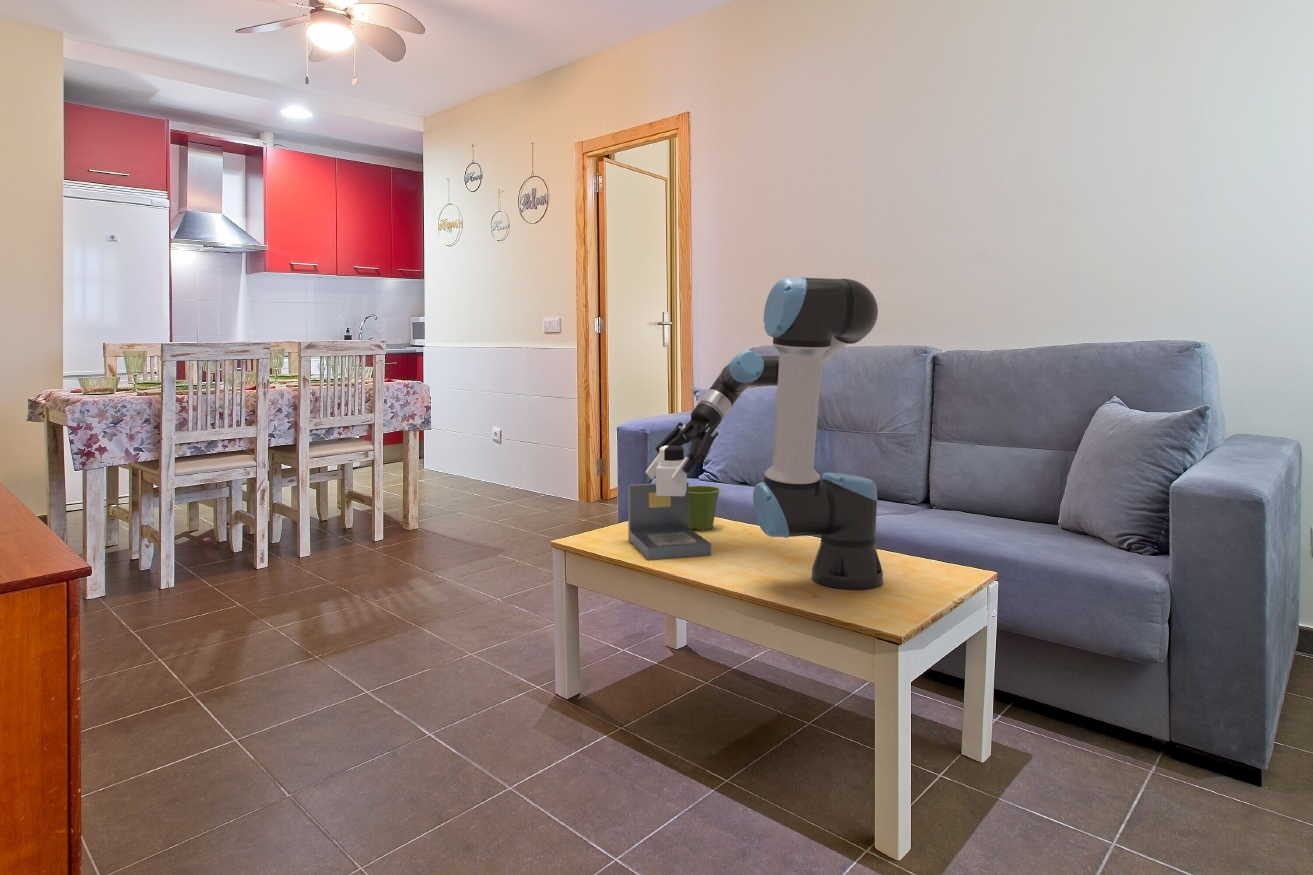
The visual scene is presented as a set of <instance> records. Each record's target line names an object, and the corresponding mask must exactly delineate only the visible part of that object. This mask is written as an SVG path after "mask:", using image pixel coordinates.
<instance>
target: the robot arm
mask: <svg viewBox="0 0 1313 875" xmlns="http://www.w3.org/2000/svg"><path fill="white" fill-rule="evenodd" d="M772 286H773V287H772V288H771V289H770V290H769V292H768V295H767V298H766V302H765V304H764V310H763V323H764V330H765V333H766V334H767V336H770V337H771V338H772V345H773V347H774V348H775V349H776V350H777V351H778V353H779V355H760V354H759V353H758V352H756V351H753V350H750V349H749V350H748V349H746V350H742V351H741V352H739V353H737V355H735V356H734V357H733V358H732V359H731V360H730V361H729V362H728V363H727V364H726V365H725V366H724V368H722V370H721V372H720V373H719V375H718V376H717V378H716V379H715V380H714V382H713V383H712V385H711V386H710V388H709V389H708V390H707V391H706V392H705V393H704V395H703V396H702V397H701V398H700V400H699V403H698V404H696V406H695V407H694V409H692V411H691V413H690V420H689V421H688V422H687V423H686V424H683V423H682V422H681V421H680V422H678V424H677V425H676V427H675V428H674V429H673V430H672V431H671V432H670V433H669V434H668V435H667V436H665V438H664V439H663V440H662V441H661V442H660V443H659V444H658V445H657V446H656V447H655V451H656V452H657V454H656V456H655V457H654V458H653V460H652V462H651V463H650V465H649V466H648V467H647V469H645V470H646V471H645V472H644V473H645V474H646V475H647V476H648V477H649V478H650V479H651V480H654V478H656V468H657V466H658V465H659V463H660V448H661V447H663V446H669V445H674V446H680V447H683V446H684V444H689V443H690V442H692V443H691V447H690V451H689V453H688V454H686V455H687V456H685V457H684V460H683V462H682V463H681V464H680V466H679V467H678V468H677V470H676V471H675V473H674V474H673V475H672V477H671V478H672V480H673V481H674V482H675V483H676V484H677V485H679V484H680V483H681V481H682V480H683V479H684V477H685V476H686V474H687V475H688V474H689V472H691V471H692V470H693V468H694V466H695V465H697V464H698V463H700V464H703V463H704V462H705V461H706V459H707V456H708V454H709V452H710V449H711V448H712V445H713V443H714V441H715V439H716V438H717V437H718V436H719V432H718V431H717V428H718V426H719V425H720V423H722V420H723V419H724V418H725V416H726V415H727V414H728V412H729V411H730V409H731V408H732V407H733V406H734V404H735V403H736V401H737V400H738V399H739V398H740V396H741V395H742V394H743V392H744V391H745V390H747V389H748V388H749V387H765V386H767V387H769V386H770V387H771V386H772V387H776V386H777V389H776V405H775V406H776V407H775V418H774V419H775V420H774V435H773V436H774V438H773V450H772V465H771V466H770V467H769V468H768V469H766V470H765V471H764V480H763V481H760V482H759V483H756V484H755V486H754V489H753V492H752V503H753V510H754V515H755V518H756V521H757V523H758V526H759V527H760V529H761V531H762V532H763V533H764V534H765V535H766V536H768V537H771V538H784V539H785V538H786V539H788V538H792V537H805V536H807V537H808V536H809V537H811V536H820V544H819V547H818V550H817V553H816V556H815V559H814V562H813V564H812V567H811V579H812V580H813V581H814V582H815V583H818V584H821V585H822V586H825V587H826V586H827V587H830V588H835V589H843V590H866V589H867V590H868V589H872V588H876V587H877V588H878V587H879V586H881V585H882V584H883V579H884V573H883V571H884V570H883V568H882V564H881V562H880V558H879V554H878V551H877V548H876V537H877V511H878V510H877V509H878V507H877V506H878V502H879V500H878V489H877V488H878V487H877V484H876V483H875V481H873V479H870V478H866V477H864V476H858V475H852V474H847V473H840V472H824V473H822V476H821V475H820V474H819V473H818V472H817V470H816V469H815V456H816V454H815V453H816V452H815V451H816V442H817V441H816V440H817V429H818V416H819V402H820V392H821V391H820V390H821V376H822V366H823V364H824V363H826V362H827V361H828V360H830V359H831V358H832V357H833V356H834V355H836V354H837V353H838V352H840V351H841V350H842V349H844V348H845V347H846V346H847V345H853V344H856V343H859V342H861V341H862V339H864V338H865V337H867V335H869V334H870V333H871V331H872V330H874V327H875V325H876V324H877V320H878V315H879V308H878V303H877V299H876V297H875V295H874V294H873V292H872V291H871V290H870V289H869V288H868V287H867V286H866V285H864V284H863V283H861V282H860V281H857V280H854V279H850V278H826V277H825V278H824V277H823V278H822V277H819V278H818V277H817V278H816V277H803V276H800V277H786V278H782V279H780V280H777V281H776V283H774V285H772Z"/></svg>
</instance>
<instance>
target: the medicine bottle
mask: <svg viewBox="0 0 1313 875" xmlns="http://www.w3.org/2000/svg"><path fill="white" fill-rule="evenodd" d="M684 452H685V450H684V448H683V446H681V447H680V446H674V445H669V446H663V447H661V448H660V463H659V465H658V466H657V468H656V476H655V483H656V495H657V496H685V494H686V490H687V483H688V482H687V481H688V480H687V477H688V476H687V475H688V473H687V474H686V476H685V477H684V479H683V480H682V481H681V483H680V484H679V485H677V484H676V483H675V482H674V481H673V480H672V478H671V477H672V475H673V474H674V473H675V471H676V470H677V468H678V467H679V466H680V464H681V463H682V462H683V460H684V459H685V457H684V456H685V453H684Z"/></svg>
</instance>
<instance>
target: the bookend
mask: <svg viewBox="0 0 1313 875" xmlns="http://www.w3.org/2000/svg"><path fill="white" fill-rule="evenodd" d="M627 486H628V487H627V489H628V490H627V495H628V496H627V497H628V498H627V499H628V500H627V503H628V504H627V506H628V507H627V512H628V513H627V514H628V515H627V517H628V519H627V523H628V524H627V526H628V531H627V532H628V534H627V535H628V539H627V540H628V542H629V541H630V542H631V543H632V544H631V543H630V542H629V543H630V544H631V545H632V546H633V545H634V546H635V547H636V548H637V549H638V550H639V551H640V552H641V553H642V554H643V555H644V556H645V557H646V558H647V559H656V560H666V559H667V560H668V559H669V558H670V559H680V558H682V559H683V558H695V557H709V556H712V544H711V542H710V541H708V540H707V539H705V538H704V537H702V536H701V535H699V534H698V533H697V532H695V531H694V529H690V528H688V486H689V482H687V490H686V494H685V496H657V495H656V482H655V483H638V484H637V483H636V484H634V483H633V484H628V485H627ZM634 546H633V547H634ZM635 547H634V548H635ZM636 548H635V549H636ZM637 549H636V550H637ZM638 550H637V551H638ZM640 552H639V553H640ZM641 553H640V554H641ZM642 554H641V555H642ZM643 555H642V556H643ZM644 556H643V557H644ZM645 557H644V558H645ZM647 559H646V560H647Z"/></svg>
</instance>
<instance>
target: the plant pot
mask: <svg viewBox="0 0 1313 875" xmlns="http://www.w3.org/2000/svg"><path fill="white" fill-rule="evenodd" d="M721 490H722V488H720V487H717V486H714V485H713V486H712V485H688V528H690V529H691V530H695V531H708V530H710V529H713V527H714V522H715V521H714V520H715V513H716V509H717V504H718V503H717V502H718V499H719V494H720V492H721Z"/></svg>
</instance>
